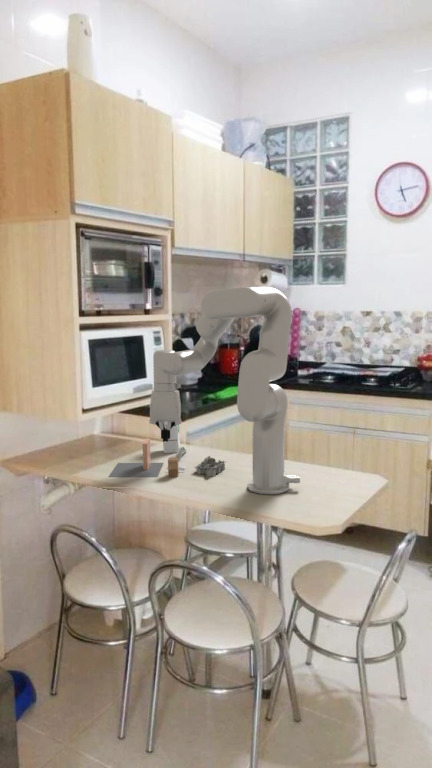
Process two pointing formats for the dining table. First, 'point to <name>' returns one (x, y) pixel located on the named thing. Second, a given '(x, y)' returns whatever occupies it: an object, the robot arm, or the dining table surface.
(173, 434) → the syrup box
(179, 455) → the ceramic fragment
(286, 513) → the dining table surface
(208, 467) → the egg carton
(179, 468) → the turner
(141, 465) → the mat
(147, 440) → the tile
